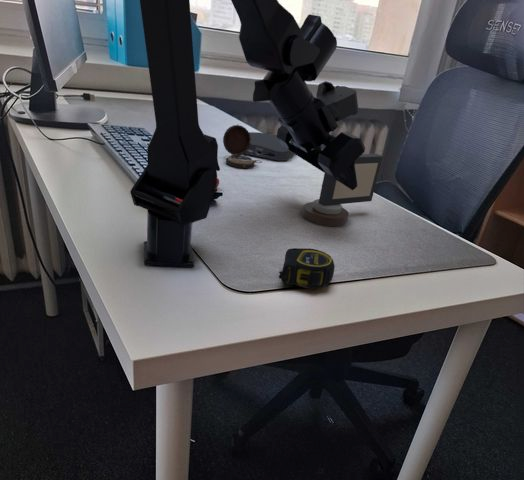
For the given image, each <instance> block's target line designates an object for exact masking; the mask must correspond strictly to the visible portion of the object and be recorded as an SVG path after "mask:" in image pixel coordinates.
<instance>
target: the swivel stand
mask: <svg viewBox="0 0 524 480" xmlns="http://www.w3.org/2000/svg"><path fill="white" fill-rule="evenodd" d="M313 202H314V201H310V202H309V201H308V202H306V203H304V205H303V209H302V217H303V218H304V219H305V220H307V221H309V222H311V223H313V224H316V225H319V226H325V227H333V228H335V227H343V226H345V225H347V224H348V219H349V216H350V212H349V211H348V210H347V209H345V208H344V207H342V208H341V212H340V213H339V214H335V215H331V214H324V213H321V212H318V211H316V210H314V209H313Z"/></svg>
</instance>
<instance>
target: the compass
mask: <svg viewBox="0 0 524 480" xmlns="http://www.w3.org/2000/svg"><path fill="white" fill-rule="evenodd" d="M249 132H250V131H249V130H248V129H247V128H246V127H244V126H242V125H240V124H234V125H231V126H229V127H228V128H226V130H225V131H224V133H223V134H224V135H223V136H222V137H223V138H222V143H223V146H224V149H225V151H227V152H228V153H229V154H231V155H229V156H228V157H226V159H225V163H226V164H227V165H229V166H230V167H234V168H238V169H251V168H253V167H254V166H255V163H256V164H262V163H263V161H262V160H259V159H252V158H251V157H250V156H247V155H244V154H245V152H246V151H247V150H248V148H249V146H250V140H251V138H250V134H249Z"/></svg>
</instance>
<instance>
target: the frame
mask: <svg viewBox="0 0 524 480" xmlns="http://www.w3.org/2000/svg"><path fill="white" fill-rule="evenodd" d="M383 159H384V156H383V155H381V154H378V153H363V154H362V155H361V156H360V157H358V158H357V159H356V160H355V171H356V178H357V187H356V188H355V189H354V190H351V189H350V188H348V187H347V186H345V185H343V184H342V183H340V182H339V181H337V180H336V179H334V178H333V177H331V176H329V175H328V174H326V173H323V179H322V184H321V187H320V188H321V189H320V194H319V197H318V198H317V199H314V200H313V201H312V202H313V209H314V210H316V211H318V212H321V213H324V214H331V215H335V214H339V213H340V212H341V208H343V206H342V205H344V204H356V203H366V202H372V200H373V196H374V193H375V189H376V185H377V181H378V178H379V174H380V170H381V167H382V162H383Z"/></svg>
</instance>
